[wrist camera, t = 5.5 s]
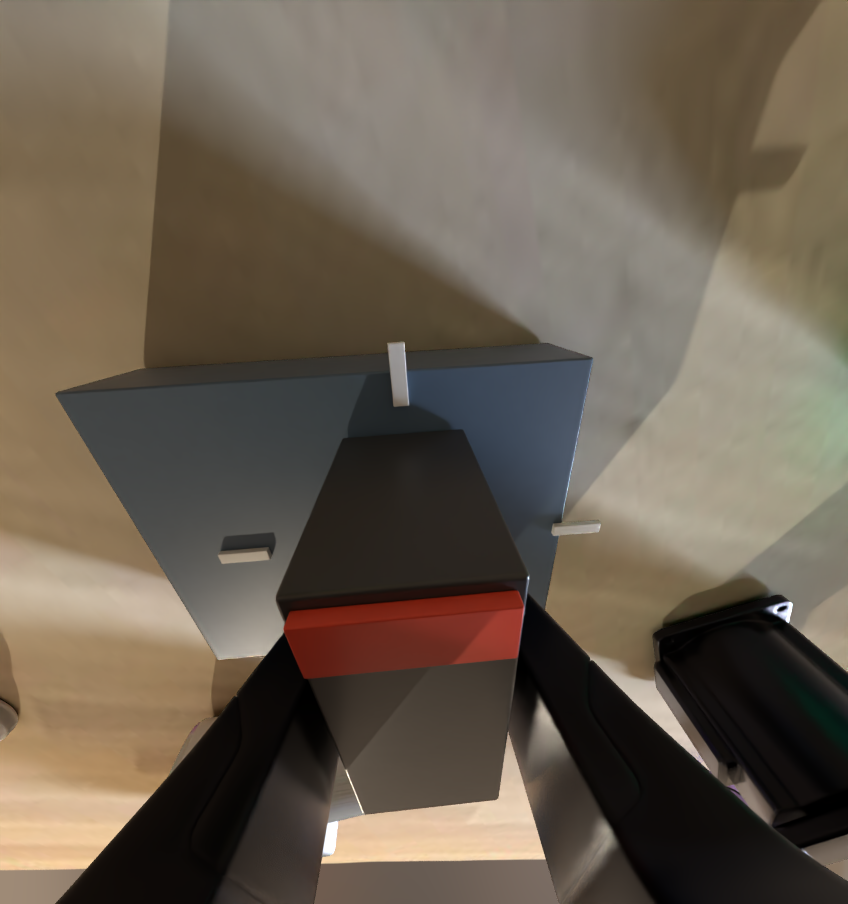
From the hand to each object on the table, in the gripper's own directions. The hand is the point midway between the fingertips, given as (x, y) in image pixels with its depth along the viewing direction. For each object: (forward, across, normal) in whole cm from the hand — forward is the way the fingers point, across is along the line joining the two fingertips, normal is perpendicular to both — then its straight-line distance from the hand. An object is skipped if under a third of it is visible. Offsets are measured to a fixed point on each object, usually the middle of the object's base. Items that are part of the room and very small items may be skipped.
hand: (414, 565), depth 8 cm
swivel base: (+4, +2, 0) cm, 4 cm away
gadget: (+1, 0, 0) cm, 1 cm away
